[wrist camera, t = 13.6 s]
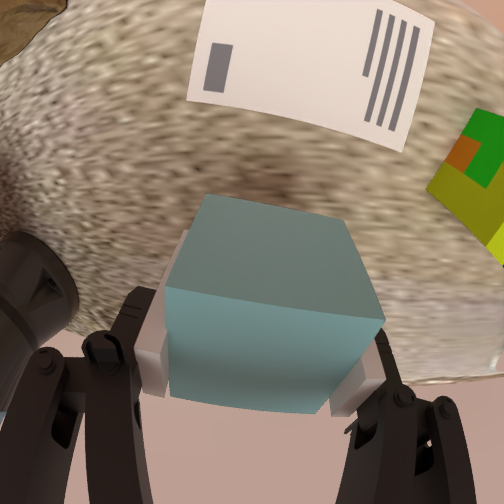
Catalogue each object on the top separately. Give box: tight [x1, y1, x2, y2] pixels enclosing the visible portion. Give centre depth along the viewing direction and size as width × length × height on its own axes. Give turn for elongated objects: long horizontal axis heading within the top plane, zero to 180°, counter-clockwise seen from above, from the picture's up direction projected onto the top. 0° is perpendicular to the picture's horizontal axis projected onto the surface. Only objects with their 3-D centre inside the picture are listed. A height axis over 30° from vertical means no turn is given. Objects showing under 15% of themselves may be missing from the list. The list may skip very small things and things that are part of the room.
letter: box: [186, 0, 435, 153], centre depth 17 cm, size 18×13×1 cm
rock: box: [0, 0, 66, 66], centre depth 12 cm, size 11×9×10 cm
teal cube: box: [165, 193, 386, 414], centre depth 11 cm, size 6×6×6 cm
